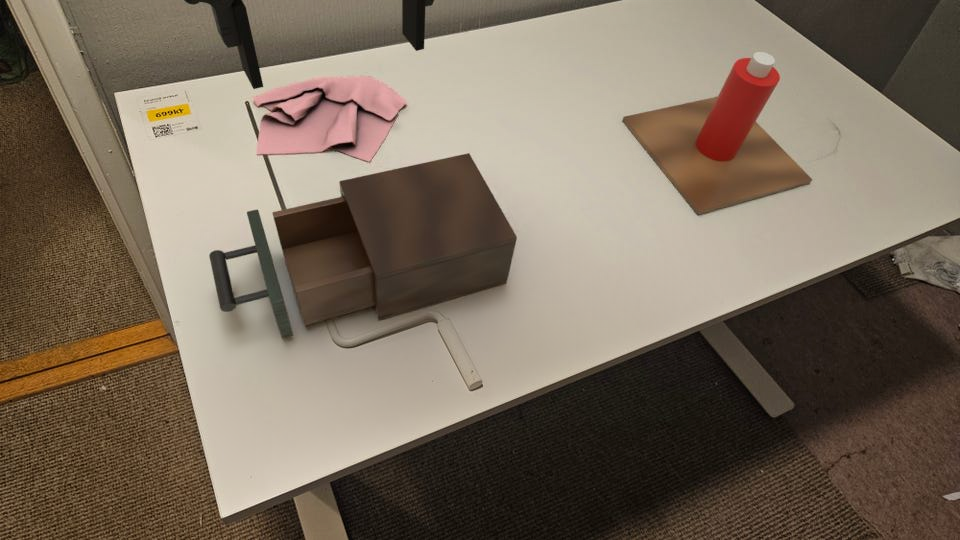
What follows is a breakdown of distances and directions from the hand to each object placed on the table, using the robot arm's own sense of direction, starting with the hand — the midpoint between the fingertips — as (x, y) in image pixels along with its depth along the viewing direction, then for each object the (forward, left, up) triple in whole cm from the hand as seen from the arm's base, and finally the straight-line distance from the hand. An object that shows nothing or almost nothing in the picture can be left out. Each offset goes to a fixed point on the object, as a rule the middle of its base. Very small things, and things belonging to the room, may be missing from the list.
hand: (337, 59), depth 49 cm
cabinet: (-2, -8, -28) cm, 29 cm away
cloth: (+26, -3, -28) cm, 38 cm away
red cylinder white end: (+3, -55, -27) cm, 61 cm away
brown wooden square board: (+3, -55, -28) cm, 61 cm away
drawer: (-2, +5, -27) cm, 27 cm away
